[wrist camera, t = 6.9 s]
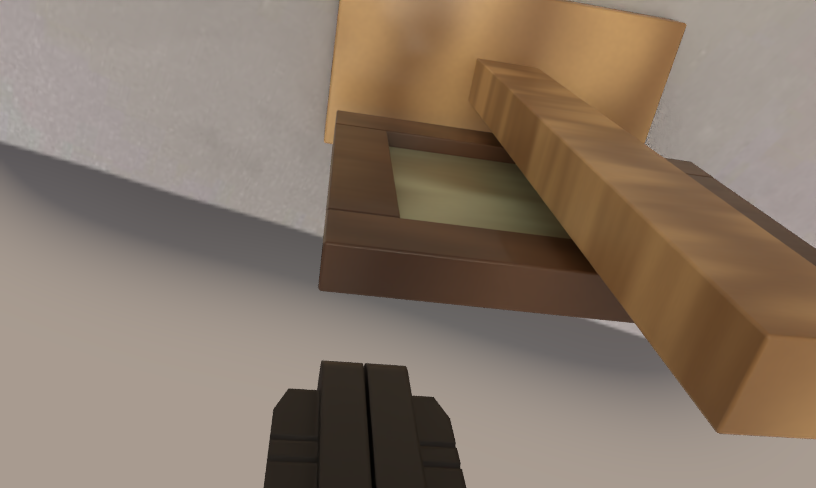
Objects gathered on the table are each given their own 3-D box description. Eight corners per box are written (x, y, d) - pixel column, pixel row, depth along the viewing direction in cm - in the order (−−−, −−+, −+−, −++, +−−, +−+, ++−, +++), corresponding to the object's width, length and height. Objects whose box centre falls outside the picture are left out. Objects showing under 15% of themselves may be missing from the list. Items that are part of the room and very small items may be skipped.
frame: (333, 141, 26) (317, 291, 15) (336, 109, 25) (324, 242, 15) (680, 190, 28) (878, 349, 17) (691, 161, 27) (903, 308, 17)
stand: (324, 133, 30) (298, 548, 10) (343, -40, 27) (363, 65, 7) (619, 172, 33) (1063, 563, 13) (672, 19, 30) (1399, 224, 9)
